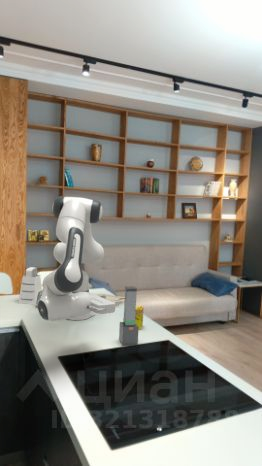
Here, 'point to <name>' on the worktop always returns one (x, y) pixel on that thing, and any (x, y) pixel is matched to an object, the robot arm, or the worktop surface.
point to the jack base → (128, 335)
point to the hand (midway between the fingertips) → (111, 300)
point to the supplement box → (139, 316)
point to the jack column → (130, 306)
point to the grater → (30, 287)
